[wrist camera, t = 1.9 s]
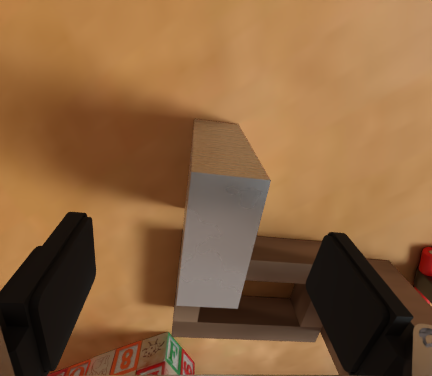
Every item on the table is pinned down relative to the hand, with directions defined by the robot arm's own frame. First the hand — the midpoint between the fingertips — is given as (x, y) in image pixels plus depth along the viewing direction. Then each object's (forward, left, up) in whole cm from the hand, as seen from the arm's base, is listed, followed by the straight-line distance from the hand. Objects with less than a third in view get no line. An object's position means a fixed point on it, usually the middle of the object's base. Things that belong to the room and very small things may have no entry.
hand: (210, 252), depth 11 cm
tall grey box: (0, 0, -10) cm, 10 cm away
